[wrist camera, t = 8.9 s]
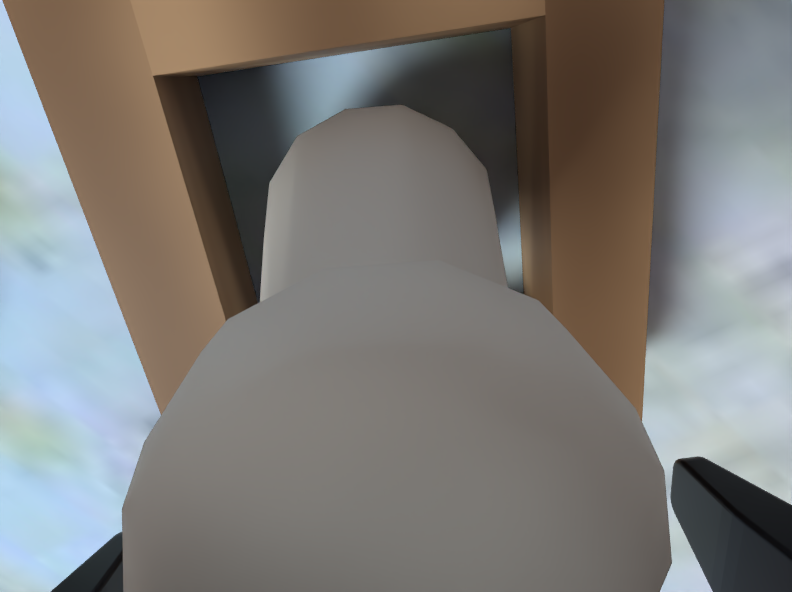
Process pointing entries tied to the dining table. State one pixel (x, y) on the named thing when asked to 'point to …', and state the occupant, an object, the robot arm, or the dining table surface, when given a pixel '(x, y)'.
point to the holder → (326, 36)
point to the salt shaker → (393, 404)
